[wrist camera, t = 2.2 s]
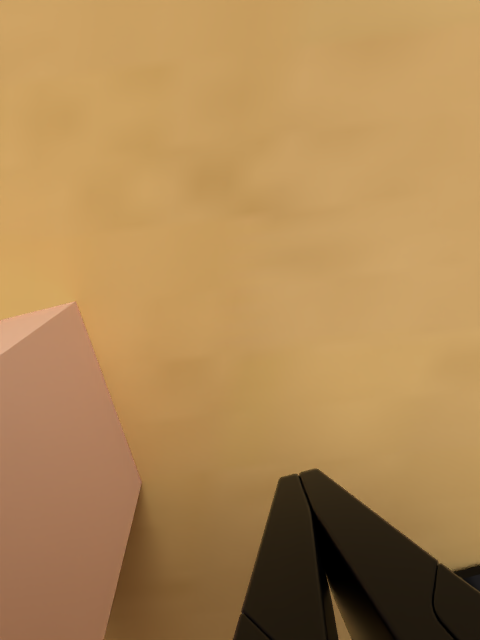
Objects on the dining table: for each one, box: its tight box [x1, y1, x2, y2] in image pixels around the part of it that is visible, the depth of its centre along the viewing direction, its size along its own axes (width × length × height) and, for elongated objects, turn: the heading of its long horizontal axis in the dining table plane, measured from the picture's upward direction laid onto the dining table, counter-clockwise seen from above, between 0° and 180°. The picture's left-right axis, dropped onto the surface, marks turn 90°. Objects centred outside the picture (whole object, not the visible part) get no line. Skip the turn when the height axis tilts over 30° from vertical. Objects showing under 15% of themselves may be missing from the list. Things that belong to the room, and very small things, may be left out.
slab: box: [0, 301, 142, 640], centre depth 11 cm, size 8×4×10 cm, turn 13°
